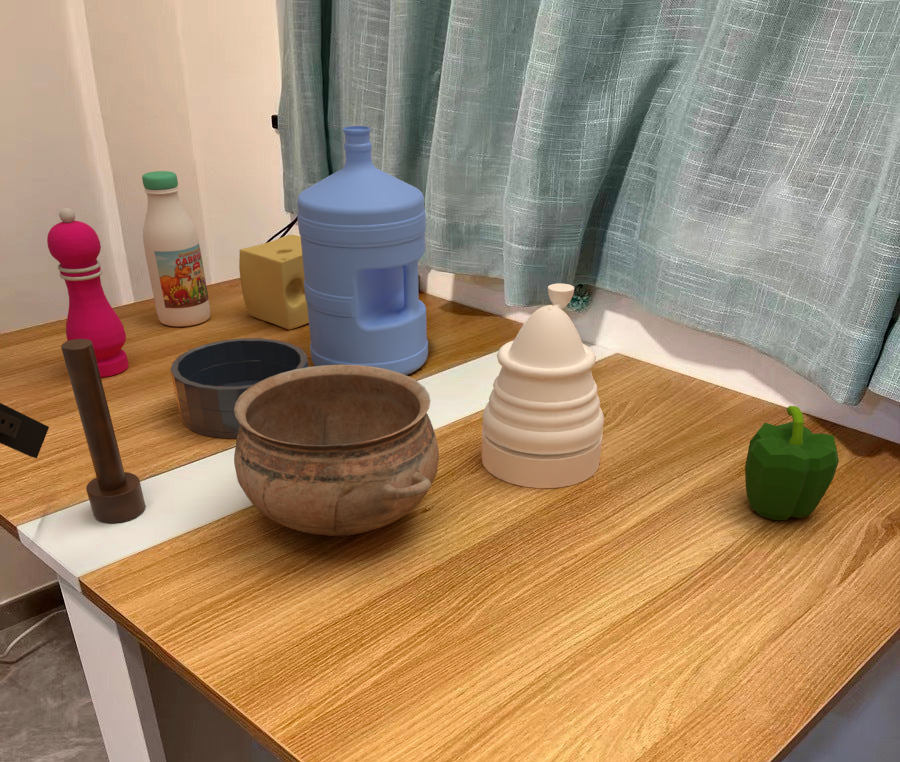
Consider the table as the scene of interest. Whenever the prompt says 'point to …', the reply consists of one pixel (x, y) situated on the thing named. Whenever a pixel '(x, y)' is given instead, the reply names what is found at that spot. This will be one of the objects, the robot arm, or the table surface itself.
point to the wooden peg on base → (101, 440)
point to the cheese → (275, 282)
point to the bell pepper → (789, 468)
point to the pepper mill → (87, 292)
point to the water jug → (363, 264)
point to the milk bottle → (173, 254)
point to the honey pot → (544, 404)
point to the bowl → (226, 379)
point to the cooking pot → (335, 448)
